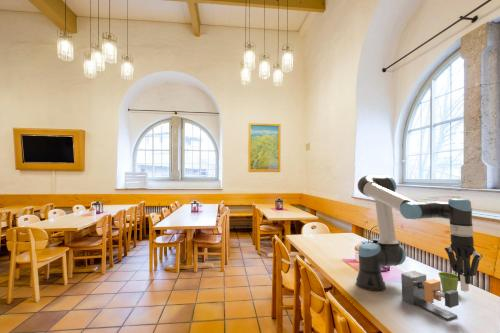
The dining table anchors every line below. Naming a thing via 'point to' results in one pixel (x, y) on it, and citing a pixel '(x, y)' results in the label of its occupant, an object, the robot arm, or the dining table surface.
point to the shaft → (447, 296)
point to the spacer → (430, 287)
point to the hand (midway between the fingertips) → (464, 290)
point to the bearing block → (420, 295)
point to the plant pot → (448, 281)
